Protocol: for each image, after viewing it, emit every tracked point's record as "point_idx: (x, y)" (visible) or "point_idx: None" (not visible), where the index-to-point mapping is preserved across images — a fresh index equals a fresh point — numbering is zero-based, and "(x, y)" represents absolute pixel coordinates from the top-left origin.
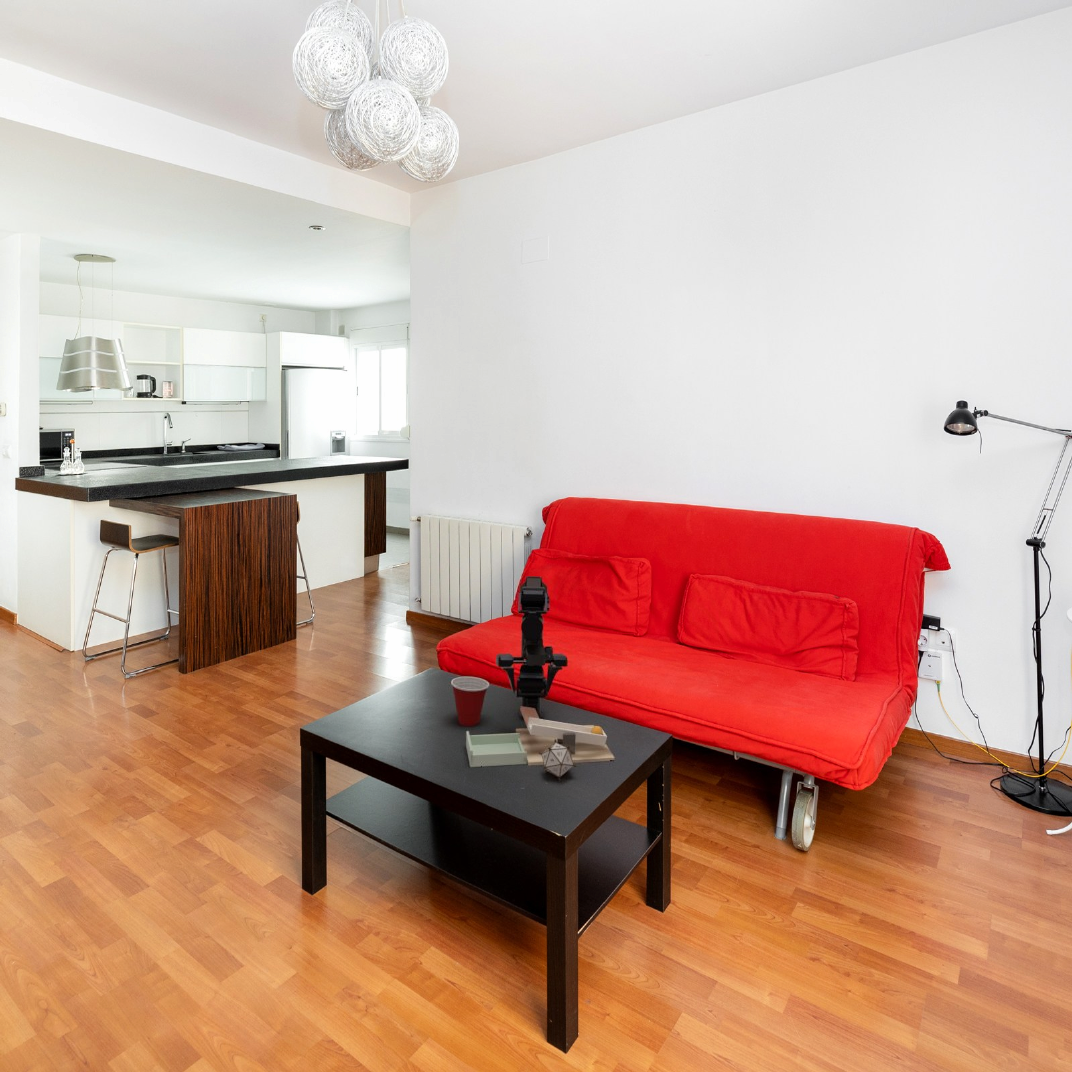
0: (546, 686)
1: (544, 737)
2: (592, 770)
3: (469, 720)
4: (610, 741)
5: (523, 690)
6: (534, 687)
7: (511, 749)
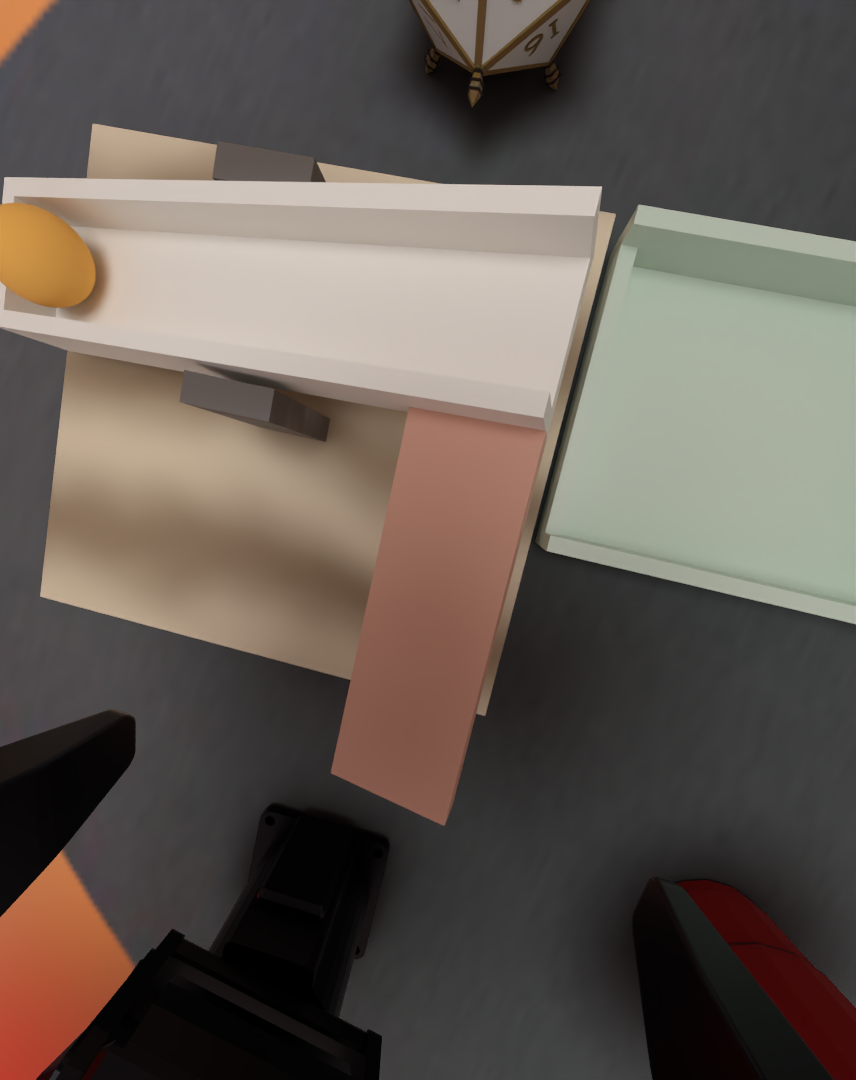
0: (61, 840)
1: (370, 536)
2: (273, 48)
3: (751, 915)
4: (36, 393)
5: (325, 1072)
6: (207, 1061)
7: (631, 450)
